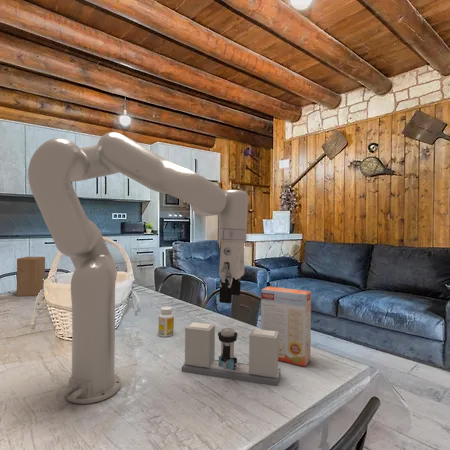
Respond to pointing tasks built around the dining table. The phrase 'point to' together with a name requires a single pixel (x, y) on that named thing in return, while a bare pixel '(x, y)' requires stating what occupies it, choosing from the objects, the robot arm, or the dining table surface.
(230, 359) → the push button
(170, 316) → the supplement bottle
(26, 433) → the dining table surface
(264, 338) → the board
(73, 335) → the robot arm
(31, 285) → the wooden block
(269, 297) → the cracker box
